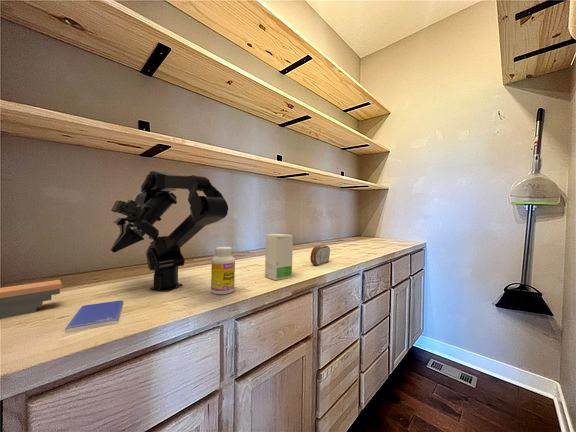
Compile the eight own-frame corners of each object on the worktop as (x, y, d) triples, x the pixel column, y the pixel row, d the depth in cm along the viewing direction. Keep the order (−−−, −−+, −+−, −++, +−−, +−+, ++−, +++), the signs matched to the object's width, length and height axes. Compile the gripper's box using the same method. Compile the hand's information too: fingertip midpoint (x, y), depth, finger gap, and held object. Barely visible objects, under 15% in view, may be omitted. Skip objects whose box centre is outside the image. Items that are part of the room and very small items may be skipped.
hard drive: (117, 318, 49) (123, 299, 60) (64, 327, 45) (81, 305, 56) (117, 326, 49) (123, 305, 60) (64, 335, 45) (81, 312, 56)
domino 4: (36, 302, 58) (-32, 314, 51) (36, 307, 55) (-37, 321, 48) (36, 307, 58) (-32, 320, 51) (36, 313, 55) (-37, 327, 48)
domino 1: (59, 279, 60) (-3, 288, 53) (61, 283, 58) (-5, 293, 50) (59, 284, 60) (-3, 293, 53) (61, 288, 58) (-5, 298, 50)
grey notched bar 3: (51, 290, 59) (-14, 300, 52) (51, 294, 56) (-17, 306, 49) (51, 295, 60) (-13, 305, 52) (51, 299, 56) (-17, 311, 49)
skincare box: (275, 281, 82) (275, 235, 82) (263, 277, 87) (264, 234, 87) (293, 277, 88) (293, 234, 87) (281, 273, 92) (282, 233, 92)
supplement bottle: (222, 296, 66) (223, 250, 66) (206, 292, 70) (206, 248, 69) (239, 290, 72) (239, 247, 72) (223, 286, 75) (223, 245, 75)
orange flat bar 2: (58, 284, 60) (-4, 293, 53) (59, 288, 57) (-7, 299, 50) (58, 289, 60) (-4, 299, 53) (59, 293, 57) (-7, 304, 50)
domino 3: (42, 296, 58) (-24, 307, 51) (42, 301, 55) (-30, 314, 48) (42, 301, 58) (-24, 313, 51) (42, 306, 55) (-29, 319, 48)
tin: (325, 261, 118) (325, 243, 118) (331, 261, 117) (331, 244, 116) (309, 266, 106) (309, 247, 106) (315, 267, 104) (316, 247, 104)
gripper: (120, 191, 75) (76, 230, 67) (144, 189, 63) (94, 236, 55) (148, 215, 81) (111, 253, 73) (175, 217, 70) (134, 263, 62)
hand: (112, 251), depth 66 cm, fingers closed
